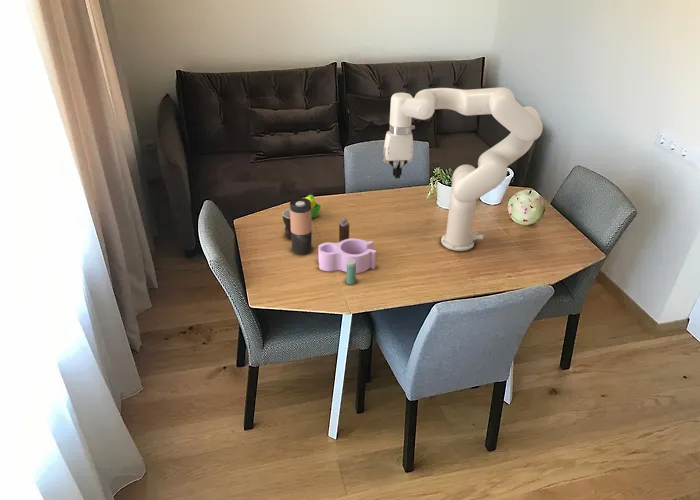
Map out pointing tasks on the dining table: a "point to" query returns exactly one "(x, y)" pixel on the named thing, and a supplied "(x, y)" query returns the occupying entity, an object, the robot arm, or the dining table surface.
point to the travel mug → (301, 225)
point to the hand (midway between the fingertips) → (396, 176)
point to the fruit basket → (313, 206)
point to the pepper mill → (343, 230)
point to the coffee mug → (287, 223)
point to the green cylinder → (351, 272)
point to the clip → (347, 255)
